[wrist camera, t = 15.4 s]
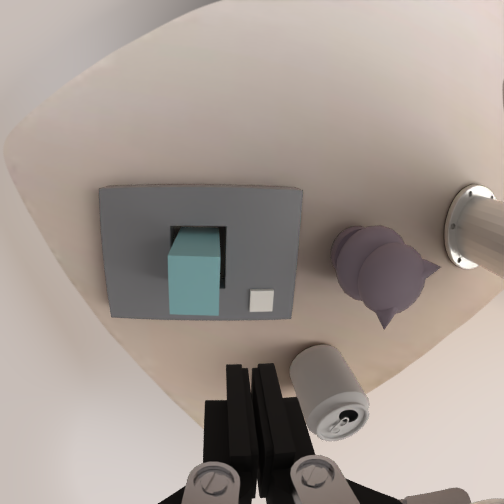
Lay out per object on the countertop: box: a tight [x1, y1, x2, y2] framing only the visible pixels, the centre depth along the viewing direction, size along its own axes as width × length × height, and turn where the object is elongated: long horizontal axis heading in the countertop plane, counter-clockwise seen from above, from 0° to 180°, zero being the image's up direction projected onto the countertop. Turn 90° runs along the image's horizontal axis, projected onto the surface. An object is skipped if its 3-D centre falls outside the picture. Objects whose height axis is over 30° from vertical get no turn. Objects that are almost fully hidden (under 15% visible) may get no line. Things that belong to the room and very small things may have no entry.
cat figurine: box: [331, 226, 441, 329], centre depth 30 cm, size 9×8×12 cm
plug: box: [168, 227, 220, 316], centre depth 29 cm, size 4×5×10 cm
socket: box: [99, 184, 303, 320], centre depth 32 cm, size 20×14×4 cm
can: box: [290, 345, 369, 441], centre depth 34 cm, size 8×8×12 cm
